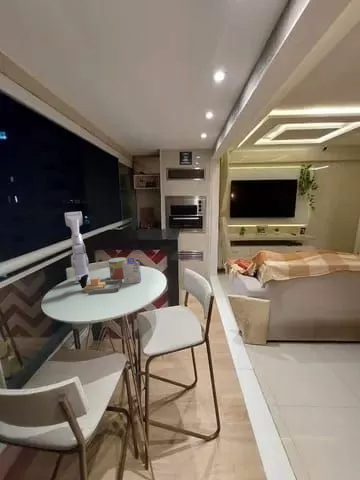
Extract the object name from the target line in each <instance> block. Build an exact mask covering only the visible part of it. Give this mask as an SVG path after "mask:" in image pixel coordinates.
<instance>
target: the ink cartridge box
mask: <svg viewBox="0 0 360 480" xmlns="http://www.w3.org/2000/svg"><path fill="white" fill-rule="evenodd" d="M122 266H123V275H124V279H123V283H124V284H126V285H127V284H134V283H135V284H136V283H137V284H138V283H141V281H142V274H141V264H140V260H138V261H136V260H135V258H133V257H129V258H128V259H127V262H124V263H123V265H122Z"/></svg>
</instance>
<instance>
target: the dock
mask: <svg viewBox="0 0 360 480" xmlns="http://www.w3.org/2000/svg"><path fill="white" fill-rule="evenodd" d="M100 282H105V283H106V286H107V285H116V286H115V287H106V288H103V289H94V290H89V291H88V292H87V294H88V296H89V295H94V294H105V293H118V292H119V291H120V288H121V286H122V285H123V280H122V279H119V280H111V279H108V280H100Z"/></svg>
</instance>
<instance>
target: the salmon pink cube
mask: <svg viewBox="0 0 360 480" xmlns="http://www.w3.org/2000/svg"><path fill="white" fill-rule="evenodd" d="M89 281H90V283H91V286H99V284H100V281H101V279H100V276H95V277H94V276H93V277H92V276H91V278H90V280H89Z"/></svg>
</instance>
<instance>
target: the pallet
mask: <svg viewBox="0 0 360 480" xmlns="http://www.w3.org/2000/svg"><path fill="white" fill-rule="evenodd" d="M106 286H107V285H106V283H105V282H100V284H99V286H91V282H87V285H86V286H85V288H83V290H84V293H88V291H89V290H94V289H103V288H105V287H106Z"/></svg>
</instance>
